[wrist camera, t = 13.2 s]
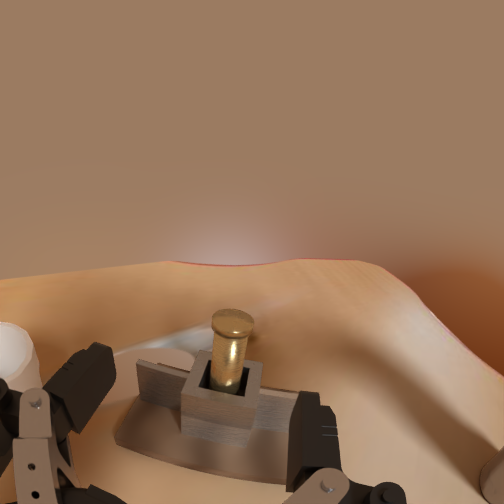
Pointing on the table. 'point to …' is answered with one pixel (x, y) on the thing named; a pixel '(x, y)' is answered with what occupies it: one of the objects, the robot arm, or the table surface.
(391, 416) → the table surface
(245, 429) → the grey winged socket holder
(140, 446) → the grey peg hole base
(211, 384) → the brass capped peg
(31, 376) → the foam cup
